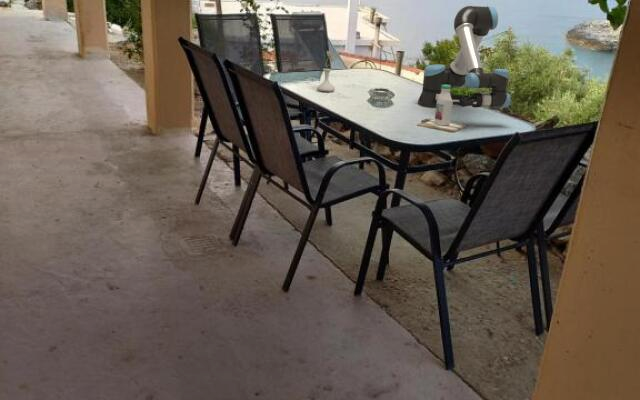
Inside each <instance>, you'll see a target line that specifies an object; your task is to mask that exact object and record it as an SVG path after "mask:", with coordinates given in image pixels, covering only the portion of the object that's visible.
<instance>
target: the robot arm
mask: <svg viewBox="0 0 640 400" xmlns="http://www.w3.org/2000/svg"><path fill="white" fill-rule="evenodd" d="M498 13H499V12H498V11H497V9H496V8H495V7H493V6H487V5H486V6H480V5H479V6H475V5H467V6H464V7H462V8H461V9H459V11H457V13H456V15H455V17H454V20H453V29H454V33H455V34H456V35H457V36H458V40H459V44H460V49H459V52H458V53H457V55H456V58H455V60H454V61H452V62H450V64H449V66H448V67H447V66H446V65H445V64H442V63H441V64H440V63H439V64H436V63H435V64H430V65H427V66H426V67H425V68H424V72H423V79H422V82H423V83H422V90H421V93H420V96H419V98H418V100H417V105H418V106H421V107H426V108H435V109H436V104H437V99H438V97H439V95H440V93H441V91H442V89H441V87H442V85H451V88H464V87H467V88H468V89H491V91H490V92H473V93H472V94H471V96H470V95H468V94H460V93H459V94H457V93H450V95H451V99H452V100H446V106H452V107H453V106H455V107H458V106H459V107H462V108H463V107H464V108H465V107H471V108H483V109H486V108H499V109H501V108H507V107H509V106H510V104H511V94H510V93H509V92H507V89H508V84H509V83H508V82H509V77H510V76H509V75H510V71H509V70H508V69H505V68H495V69H493V72H484V68H483V66H482V61H481V58H480V54H479V50H478V49H479V46H480V45H481V42H482V40H483V38H484V37H486V36H488V34H489V32H490V31H492V30H495V29H496V28H497V26H498V23H499V14H498Z"/></svg>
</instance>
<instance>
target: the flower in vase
mask: <svg viewBox="0 0 640 400" xmlns="http://www.w3.org/2000/svg"><path fill="white" fill-rule="evenodd" d="M326 55H327V59H326V62H324V63H325V64H324V65H325V67H326V68H323V69H322V70H323V73H324V80H323V82H321V83H320V84H319V85H318V86H317V90H318V91H320V92H325V93H329V92H330V93H331V92H334V91H335V90H336V87H335V86H334V85H333V84H332V83H331V82H330V81H329V75H330V72H331V71H332V69H331V68H328V67H329V66H331V65H330V64H328V65H327V62H328V60H330V61H331V62H332V63H333V62H335V58H334V56H333V54H332V53H331V52H330V51H329V50H326Z"/></svg>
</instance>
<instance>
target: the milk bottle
mask: <svg viewBox="0 0 640 400" xmlns="http://www.w3.org/2000/svg"><path fill="white" fill-rule="evenodd" d="M451 88H452V87H451V85H442V87H441V89H442V91H441V93H440V95H439V97H438V99H437V104H436V108H435V111H434V112H435V113H434V119H435V121H434V123H435V124H437V125H443V126H445V125H449V124H450V122H451V115H452V114H451V113H452V107H453V106H446V100H452V99H451V95H450V94H451Z"/></svg>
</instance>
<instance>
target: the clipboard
mask: <svg viewBox="0 0 640 400" xmlns="http://www.w3.org/2000/svg"><path fill="white" fill-rule="evenodd" d="M434 121H435V118H424V119H421V121H420V122H418V123H416V126H417V127H422V128H427V129H432V130H438V131H443V132H448V133H453V134H454V133H456V132H458V131H460V130H462V129H465V128H466V125H464V124H461V123H455V122H451V121H450V124H449V125H445V126H443V125H437V124H435V123H434Z"/></svg>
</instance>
